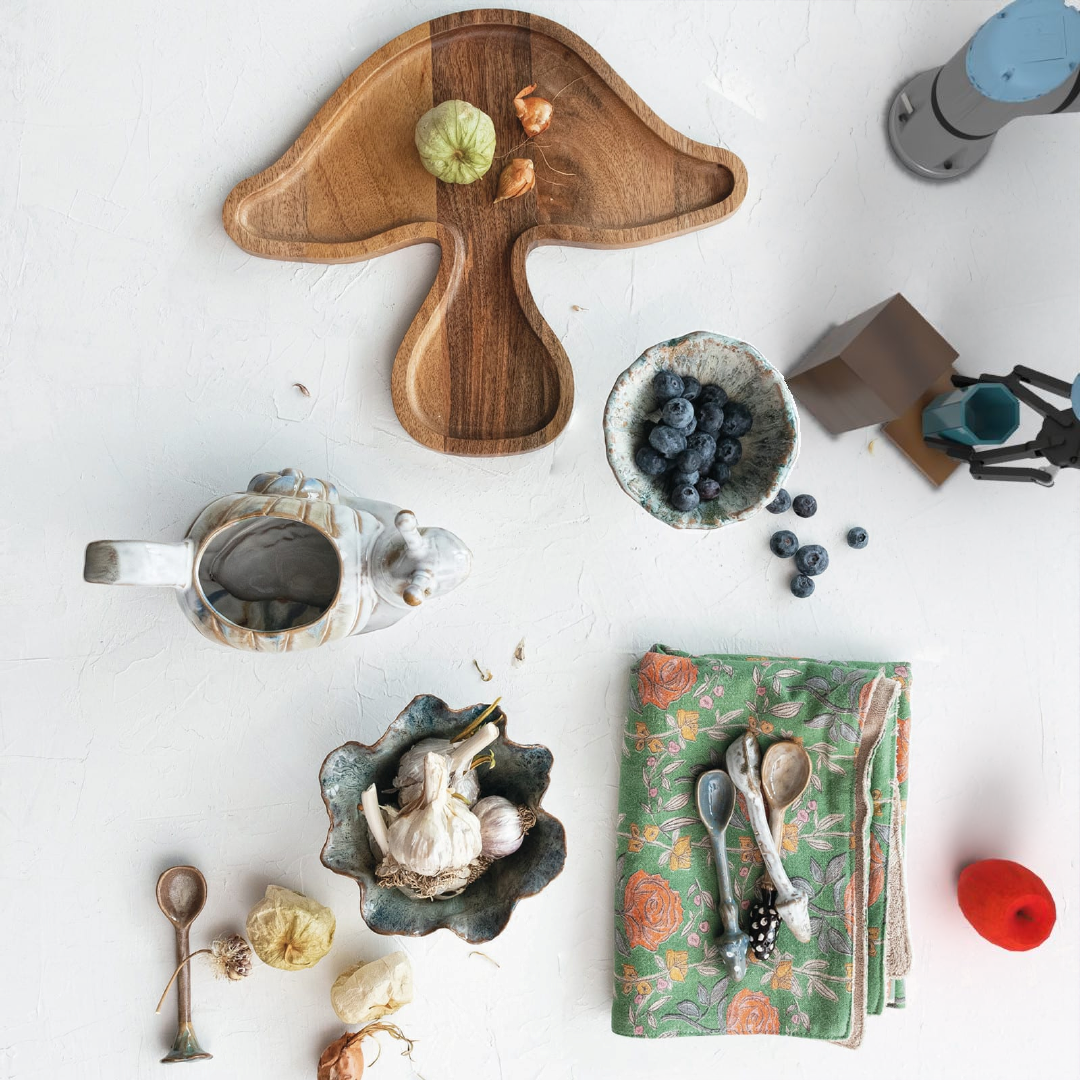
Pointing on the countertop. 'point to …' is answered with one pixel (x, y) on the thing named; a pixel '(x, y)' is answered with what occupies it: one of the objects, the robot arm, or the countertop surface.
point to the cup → (973, 415)
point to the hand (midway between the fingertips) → (940, 411)
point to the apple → (1006, 904)
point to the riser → (871, 367)
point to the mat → (910, 436)
